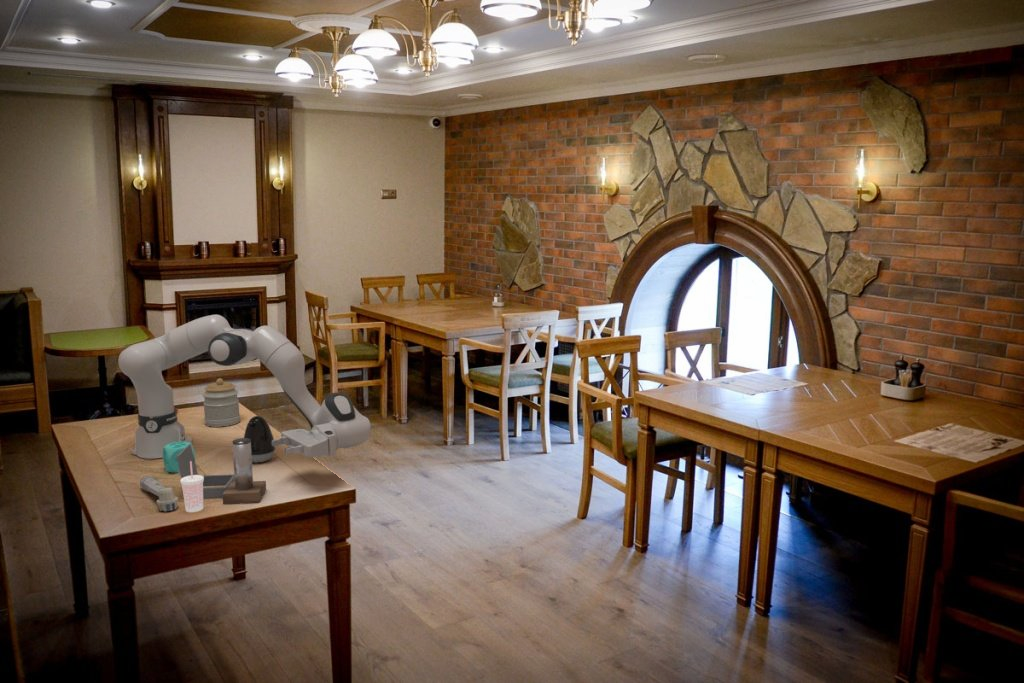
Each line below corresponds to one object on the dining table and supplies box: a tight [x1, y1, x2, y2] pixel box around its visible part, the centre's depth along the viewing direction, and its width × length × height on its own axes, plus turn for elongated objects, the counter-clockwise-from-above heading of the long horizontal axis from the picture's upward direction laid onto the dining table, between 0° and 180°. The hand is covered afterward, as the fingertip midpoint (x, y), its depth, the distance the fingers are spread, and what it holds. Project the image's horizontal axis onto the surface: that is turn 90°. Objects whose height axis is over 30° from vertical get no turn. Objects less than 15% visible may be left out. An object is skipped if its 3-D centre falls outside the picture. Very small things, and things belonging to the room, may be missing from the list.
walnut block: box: [222, 480, 267, 505], centre depth 239 cm, size 10×10×3 cm
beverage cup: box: [180, 461, 204, 513], centre depth 229 cm, size 6×6×14 cm
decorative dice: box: [162, 442, 196, 474], centre depth 264 cm, size 8×8×8 cm
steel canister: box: [231, 437, 254, 490], centre depth 237 cm, size 5×5×14 cm
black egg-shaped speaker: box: [243, 415, 276, 464], centre depth 271 cm, size 10×10×15 cm
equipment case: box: [176, 444, 235, 499], centre depth 243 cm, size 12×14×13 cm
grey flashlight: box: [139, 475, 179, 512], centre depth 238 cm, size 5×7×25 cm
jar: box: [202, 377, 241, 428], centre depth 316 cm, size 13×13×18 cm
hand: (279, 447), depth 243 cm, fingers open, 8 cm apart
